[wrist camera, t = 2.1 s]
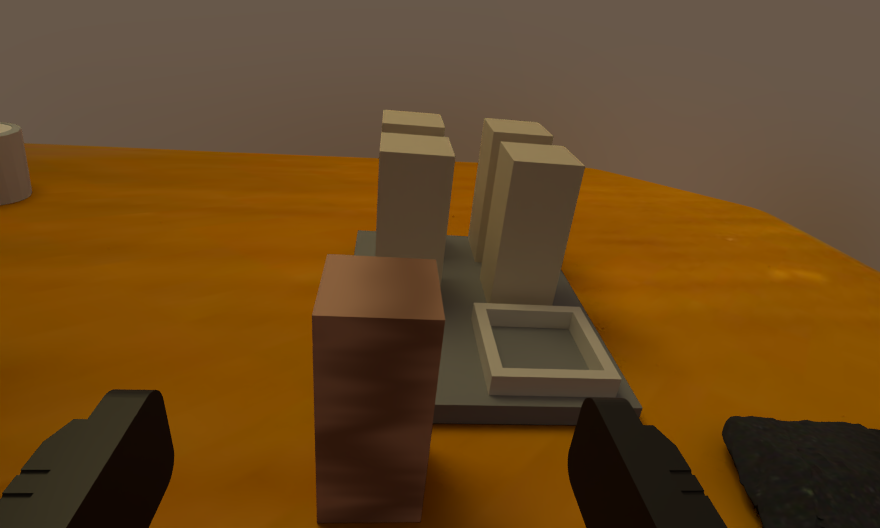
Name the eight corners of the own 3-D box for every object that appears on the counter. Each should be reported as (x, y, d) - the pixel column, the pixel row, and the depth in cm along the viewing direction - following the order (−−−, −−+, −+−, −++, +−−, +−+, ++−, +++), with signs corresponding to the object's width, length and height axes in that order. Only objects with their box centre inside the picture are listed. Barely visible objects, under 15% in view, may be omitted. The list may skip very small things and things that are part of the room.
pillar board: (331, 421, 30) (330, 210, 24) (357, 244, 51) (360, 106, 45) (635, 425, 32) (708, 232, 26) (541, 253, 53) (568, 123, 47)
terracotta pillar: (317, 523, 25) (312, 315, 19) (328, 441, 29) (327, 254, 23) (420, 522, 25) (445, 320, 20) (416, 442, 30) (436, 259, 24)
